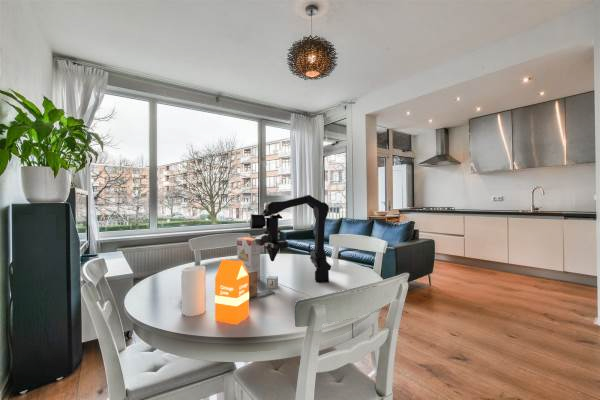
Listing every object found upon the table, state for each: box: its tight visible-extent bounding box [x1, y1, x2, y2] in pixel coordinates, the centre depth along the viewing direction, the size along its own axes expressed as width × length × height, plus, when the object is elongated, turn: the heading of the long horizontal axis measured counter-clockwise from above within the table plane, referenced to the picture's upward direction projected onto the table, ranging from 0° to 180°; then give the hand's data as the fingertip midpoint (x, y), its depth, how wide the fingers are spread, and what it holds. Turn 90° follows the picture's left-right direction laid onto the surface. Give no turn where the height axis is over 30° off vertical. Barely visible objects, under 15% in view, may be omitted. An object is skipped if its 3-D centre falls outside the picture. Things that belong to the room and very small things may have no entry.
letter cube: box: [266, 275, 279, 289], centre depth 134 cm, size 4×5×4 cm
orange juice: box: [214, 259, 250, 325], centre depth 98 cm, size 8×9×20 cm
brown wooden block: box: [247, 270, 259, 297], centre depth 116 cm, size 12×3×10 cm, turn 128°
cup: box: [181, 265, 207, 317], centre depth 104 cm, size 8×8×16 cm
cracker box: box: [236, 236, 261, 280], centre depth 149 cm, size 14×6×21 cm, turn 42°
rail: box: [249, 289, 276, 301], centre depth 118 cm, size 22×4×2 cm, turn 128°
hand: (272, 261), depth 134 cm, fingers closed
